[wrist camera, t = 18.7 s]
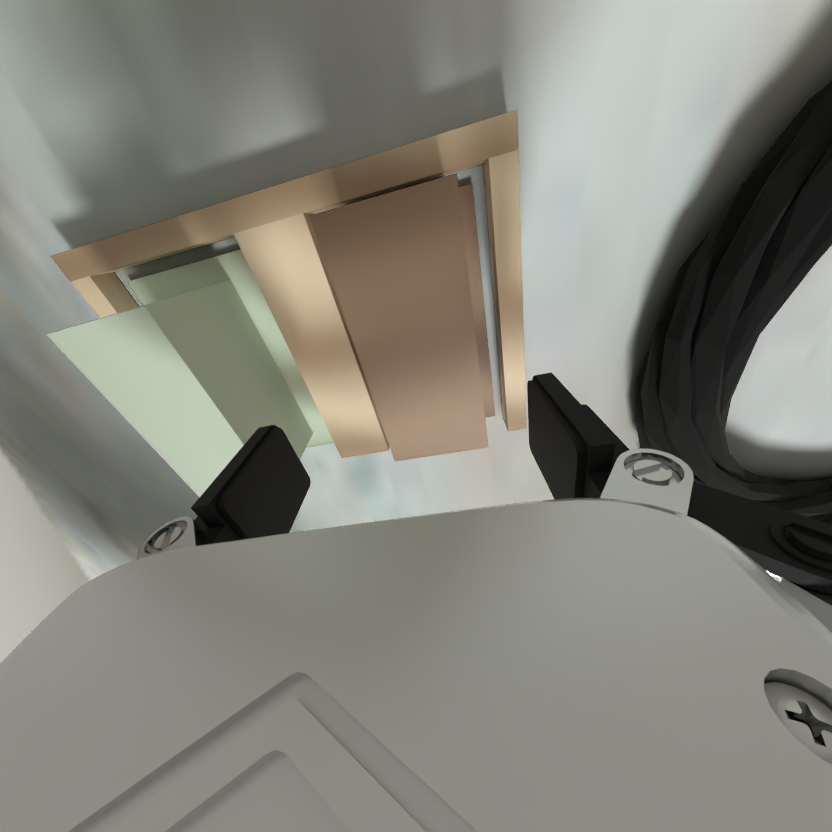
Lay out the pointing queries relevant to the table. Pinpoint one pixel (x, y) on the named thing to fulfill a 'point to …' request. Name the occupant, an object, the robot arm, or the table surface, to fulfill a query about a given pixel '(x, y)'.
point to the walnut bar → (410, 313)
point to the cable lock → (740, 312)
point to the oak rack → (310, 280)
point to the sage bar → (188, 378)
